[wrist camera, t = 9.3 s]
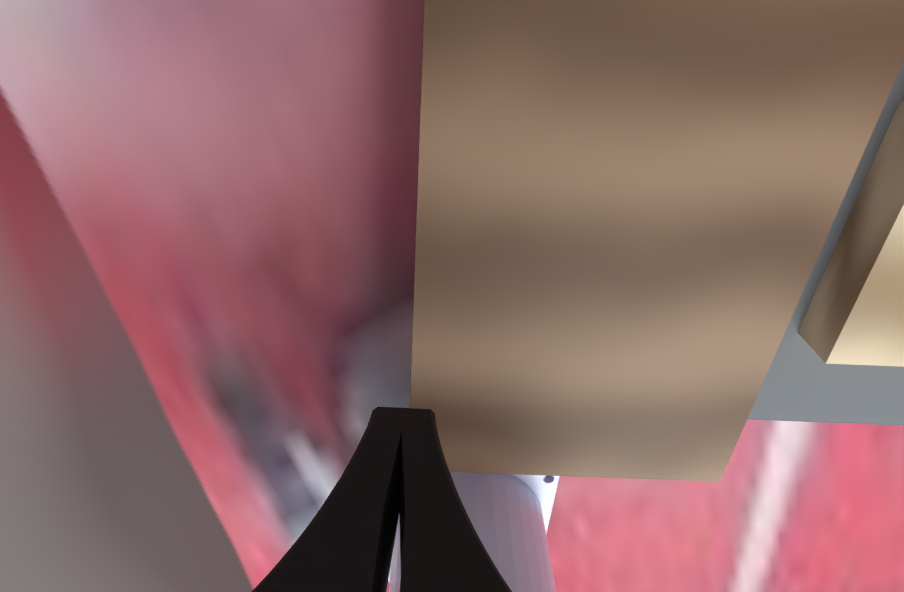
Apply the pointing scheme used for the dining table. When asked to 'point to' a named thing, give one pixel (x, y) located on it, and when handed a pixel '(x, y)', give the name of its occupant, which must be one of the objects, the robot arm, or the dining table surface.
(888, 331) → the tile
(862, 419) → the mat
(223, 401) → the dining table surface
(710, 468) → the brown shallow box
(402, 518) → the robot arm
